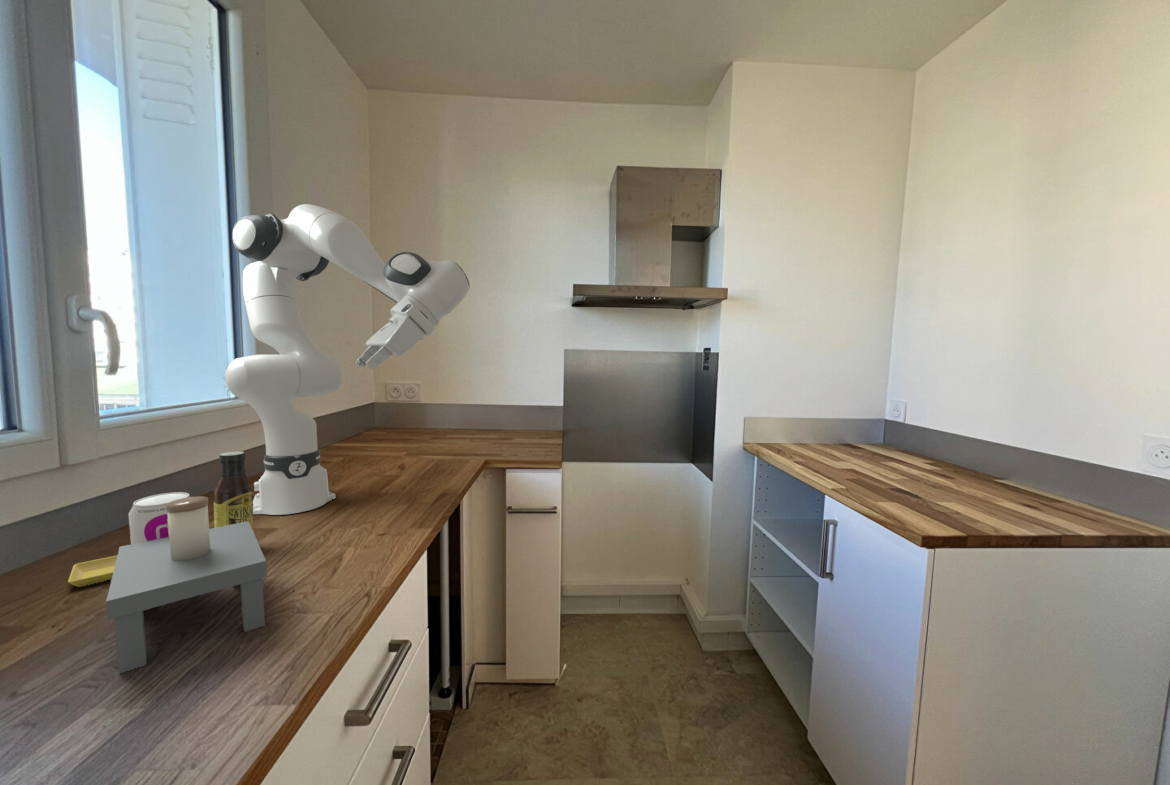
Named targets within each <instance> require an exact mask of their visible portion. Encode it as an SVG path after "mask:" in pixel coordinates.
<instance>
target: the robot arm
mask: <svg viewBox="0 0 1170 785" xmlns="http://www.w3.org/2000/svg"><path fill="white" fill-rule="evenodd" d="M232 228H233V229H232V232H231V236H232V237H231V240H232V242H233V246H234V248H235V250H236V251H237V252H238V253H239V254H240V255H241V256H244V257H245V258H247V259H249V260H252V261H253V262H251V263H249V264H248V265H246V266H245V268H244V269H243V271H242V294H243V301H244V305H245V310H246V315H247V318H248V324H249V327H250V332H251V333H252V334H253V336H254V337H255V339H257V341H259V342H261V343H263V344H265V345H267V346H270V347H272V348H273V349H274V350H275V351H276V352H278V354H251V355H247V356H241V357H237V358H234V359H233V360H232V361H231V362H230V363H229V364H228V366H227V368H226V370H225V375H224V382H225V384H226V387H227V388H228V390H229V391H230V393H232V395H234V396H235V397H236V398H238V399H239V400H242V401H243V402H245V403H246V404H248V405H249V406H250V407H251V408H252V410H254V411H255V412H256V414H257V416H258V417H259V419H260V421H261V424H262V427H263V434H264V443H265V454H264V455H263V465H264V467H263V468H264V472H263V474H262V475H261V476H260V479H258V481H255V482H253V487H254V488H253V489H254V492H259V493H256V494H254V496H253V515H271V516H274V515H275V516H283V515H291V514H298V513H304V512H307V511H311V510H315V509H317V508H320V507H322V506H323V505H325V504H327V503H328V502H331V501H332V499H333V500H334V499H336V493H334V492H331V491H329V490H330V489H329V479H328V471H327V469H326V468H325V467H324V466H322V465H321V453H320V449H319V448H318V434H317V432H318V431H317V422H316V421H315V419H314V418H313V417H312V416H311V415H309V414H308V413H305V412H302V411H299V410H298V409H297V410H296V408H295V406H294V405H293V399H295V398H307V397H317V396H322V395H326V394H329V393H332V392H335V391H337V390H338V389H339V387H340V386H342V382H343V379H344V372H343V368H342V366H341V364H340V363H339V362H338V360H337V359H336V358H333V357H332V356H330V355H329V354H327V353H326V352H325V351H323V350H322V349H321V348H320V347H319V346H318V345H317V344H316V343H315V342H314V340H312V339H311V337H310V335H309V334H308V332H307V331H306V328H305V325H304V323H303V320H302V316H301V313H300V309H299V305H298V301H297V297H296V294H295V293H296V292H295V290H294V283H295V281H296V280H297V281H300V282H306V281H308V280H309V279H310V278H312V277H315V276H317V275H319V274H321V273H322V272H324V271H325V270H326V268H327V267H328V265H329V263H330V262H331V263H333V264H334V265H336V266H338V267H340V268H342V269H343V270H345V271H347V272H348V273H350V274H351V275H352V276H355V277H356V278H358V279H360V280H361V281H363V282H365V284H367V285H369V287H371V288H373V289H375V290H376V291H378V292H379V293H381V294H382V295H384V296H385V297H386V298H388V299H389V300H392V302H394V303H396V304H394V306H392V307H391V309H390V308H389V309H390V310H389V312H390V315H391V317H389V319H388V322H387V323H386V324H384V325H383V326H382V327H381V328H380V329H378V330H377V331H376V332H375V333H374V334H373V335H372V336H371V337H370V338H369V339H367V341H365V345H366V346H367V348H366V349H365V350H364V352H362V354H361V356H359V358H357V360H356V361H355V363H356V364H357V366H359V367H361V368H365V367H368V368H369V369H371V370H374V369H376V368H377V367H378V366H379V365H380V364H381V363H383V362H385V361H386V360H387V359H389V358H390V357H391V356H392V357H393V356H395V357H396V356H397V357H400V356H401V355H403V354H405V353H406V352H407V351H408V350H411V348H412V347H414V345H416V344H417V343H418V342H419V341H422V340H424V339H425V338H426V337H427V336H430V335H431V334H432V333H433V332H435V330H436V327H438V325H439V324H440V322H441V320H442V319H443V317H445V316H447V315H449V314H451V312H452V311H453V310H454V309H456V308H457V307H458V305H459V304H460V303H461V302H462V301H463V300H464V298H465V297H466V295H468V292H469V291H470V289H471V288H470V287H471V286H470V285H471V284H470V282H469V279H468V276H467V274H466V273H465V271H464V270H463V268H462V267H461V266H460V265H459V264H458V263H457V262H455V261H454V260H451V259H448V260H447V259H445V260H442V261H441V260H438V261H437V260H433V259H428V258H425V257H422V256H421V255H419V254H417V253H415V252H411V251H402V252H399V253H396V254H394V255H393V256H392V257H390V258H389V259H388V260H387V261H386V262H384V260H383V259H382V257H381V256H380V255H379V254H378V252H377V249H375V247H374V246H373V244H372V242H371V241H370V240H369V238H368V237H367V235H366V234H365V233H364V231H363V230H362V229H361V228H360V227H359V226H357V225H356V223H354V222H353V221H352V220H351V219H349V218H347V217H346V216H344V215H342V214H339V213H338V212H335V211H333V210H331V209H328V208H326V207H323V206H319V205H315V204H311V203H303V204H299V205H297V206H295V207H294V208H292V210H291V211H290V212H289V215H288V217H287V218H284V219H283V218H282V219H280V218H278V217H277V216H276V214H274V213H267V214H263V215H260V214H249V215H245V216H243V217H241V218H239V219H238V220H237V222H235V224H234V226H233V227H232Z"/></svg>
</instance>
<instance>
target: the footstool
mask: <svg viewBox="0 0 1170 785" xmlns="http://www.w3.org/2000/svg"><path fill="white" fill-rule="evenodd" d="M209 534H210V551H209V552H208V553H206V554H204V555H202V556H199V557H196V558H192V559H187V560H172V559H171V555H170V542H169V537H166V538H161V539H156V540H151V541H146V542H141V543H136V544H131V543H130V544H126V545H122V546H119V548H118V552H117V559H116V564H115V568H114V572H113V576H112V580H110V585H109V587H108V588H109V589H108V592H107V597H106V601H105V602H106V613H107V620H108V621H109V620H113V619H114V629H115V640H116V651H117V652H116V653H117V662H118V664H117V665H118V673H119V674H118V675H121V674H123V673H127V672H129V671H133V670H136V669H138V667H139V668H142V667H144V665H145V666H147V659H148V658H147V657H148V654H147V642H146V629H145V618H144V612H145V611H149V610H151V609H153V608H157V607H160V606H164V605H168V604H171V603H175V602H179V601H183V600H187V599H189V598H193V597H197V596H200V595H205V594H207V593H208V594H209V593H211V592H216V591H219V590H223V589H226V588H230V587H236V586H240V600H241V602H240V603H241V617H242V618H241V619H242V627H243V631H244V633H247V632H250V631H253V630H255V629H258V628H262V627H265V626H266V623H265V622H266V621H265V620H266V619H265V604H264V603H265V600H264V584H263V578H267V577H268V575H267V574H268V573H267V571H268V570H267V561H266V558H265V555H264V553H263V551H262V549H261V546H260V544H259V542H258V539H257V538H256V534H255V532H254V533H253V530H252V528H251V526H250V524H249V521H247V522H242V523H237V524H231V525H226V526H221V527H216V528H214V527H213V528H209ZM141 666H142V667H141ZM135 668H136V669H135ZM126 671H127V672H126Z"/></svg>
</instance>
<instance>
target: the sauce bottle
mask: <svg viewBox="0 0 1170 785" xmlns="http://www.w3.org/2000/svg"><path fill="white" fill-rule="evenodd" d="M218 455H219V457H218V458H219V463H220V478H219V480H218V481H217V482H216V484H215V487H214V488H213V498H214V499H213V524H214V525H213V526H214V527H213V528H216V527H221V526H226V525H231V524H237V523H242V522H247V521H249V524H250V526H251V528H252V530H253V533H254V534H255V528H254V524H255V523H254V522H255V520H254V519H255V518H254V514H253V500H254V492H253V490H252V487H251V485H250V483H249V481H248V478H247V475H246V470H245V460H246V453H245V452H244V451H228V452H222V453H220V454H218Z"/></svg>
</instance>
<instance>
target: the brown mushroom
mask: <svg viewBox="0 0 1170 785" xmlns="http://www.w3.org/2000/svg"><path fill="white" fill-rule="evenodd" d="M208 505H209V497H207V496H201V495H200V496H190V497H188V498H182V499H178V500H174V501H171V502H169V503H167V504H166V511H167V515H168V528H169V542H170V555H171V559H172V560H187V559H192V558H196V557H199V556H202V555H204V554H206V553H208V552H209V551H210V534H209V529H210V522H209V521H210V520H209V507H208Z"/></svg>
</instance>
